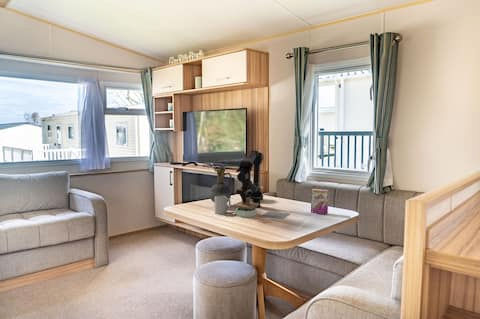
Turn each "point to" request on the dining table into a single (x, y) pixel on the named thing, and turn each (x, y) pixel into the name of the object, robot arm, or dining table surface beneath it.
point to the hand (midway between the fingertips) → (246, 202)
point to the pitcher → (220, 185)
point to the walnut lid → (246, 204)
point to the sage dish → (245, 212)
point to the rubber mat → (275, 215)
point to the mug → (221, 204)
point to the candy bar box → (319, 201)
